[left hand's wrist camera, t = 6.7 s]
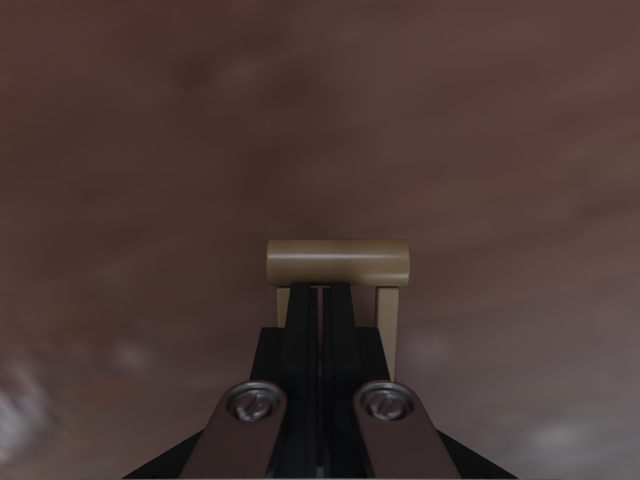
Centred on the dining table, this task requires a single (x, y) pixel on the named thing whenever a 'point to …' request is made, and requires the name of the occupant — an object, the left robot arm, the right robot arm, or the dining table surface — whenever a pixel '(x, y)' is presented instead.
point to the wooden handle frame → (342, 267)
